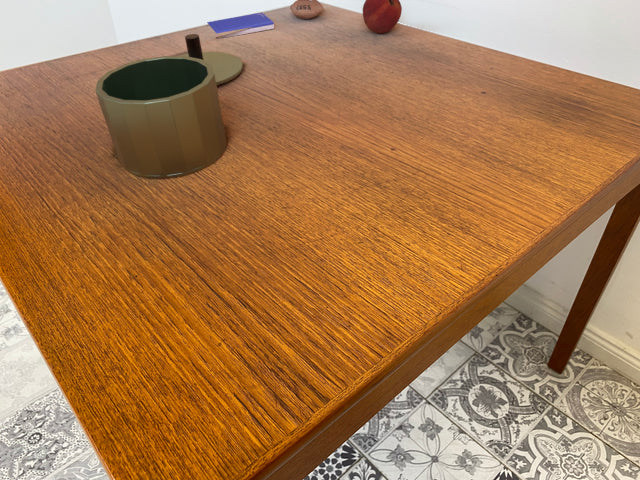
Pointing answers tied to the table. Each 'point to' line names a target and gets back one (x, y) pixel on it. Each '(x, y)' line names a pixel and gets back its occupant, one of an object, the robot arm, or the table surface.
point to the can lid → (214, 60)
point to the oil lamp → (306, 8)
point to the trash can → (163, 116)
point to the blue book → (242, 24)
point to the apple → (381, 14)
